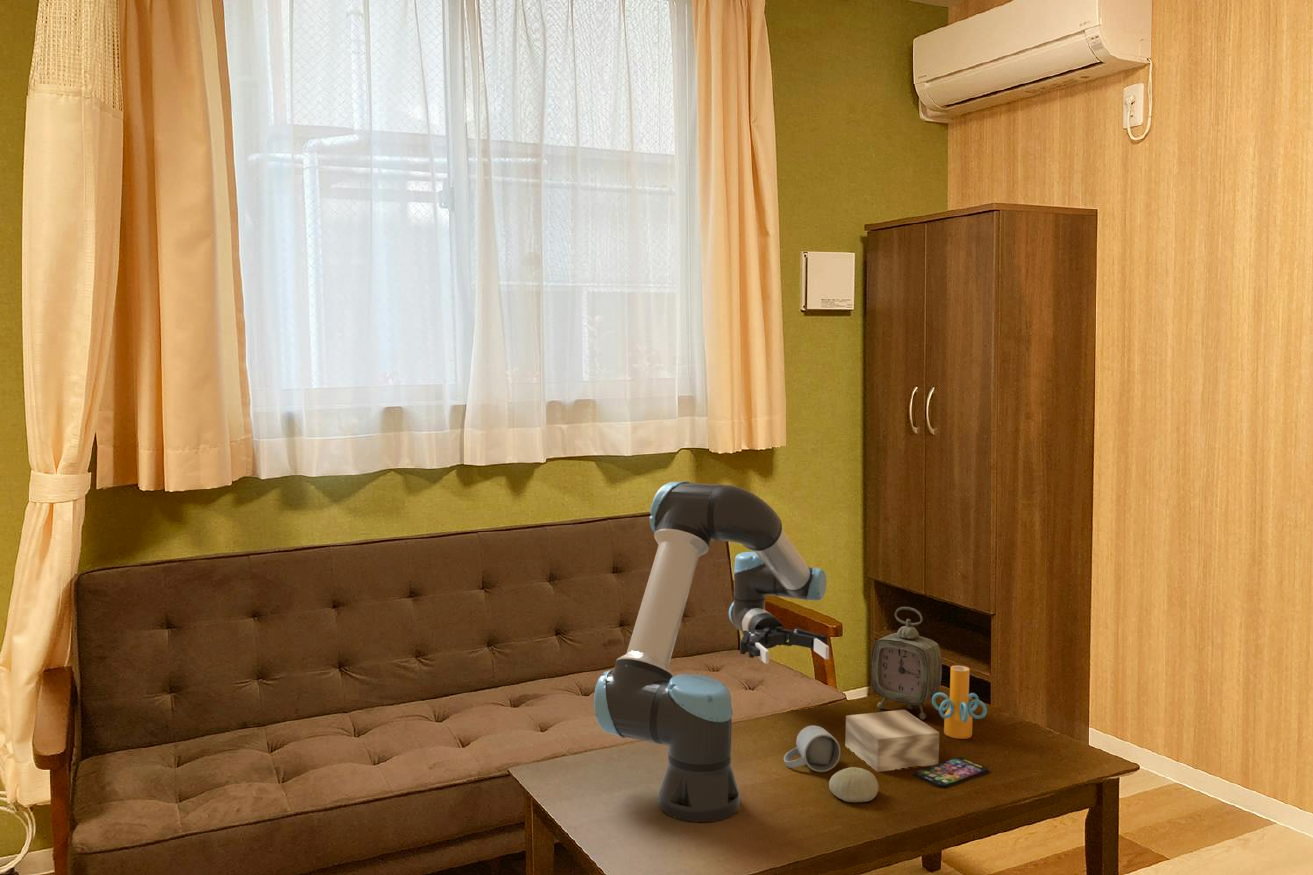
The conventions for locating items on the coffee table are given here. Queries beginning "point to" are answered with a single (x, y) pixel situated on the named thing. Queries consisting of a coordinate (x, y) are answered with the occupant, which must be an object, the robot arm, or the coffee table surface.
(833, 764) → the ceramic mug
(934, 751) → the birch block
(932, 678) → the tabletop clock
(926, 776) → the smartphone
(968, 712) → the ring toss post
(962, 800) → the coffee table surface
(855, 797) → the sea urchin shell
